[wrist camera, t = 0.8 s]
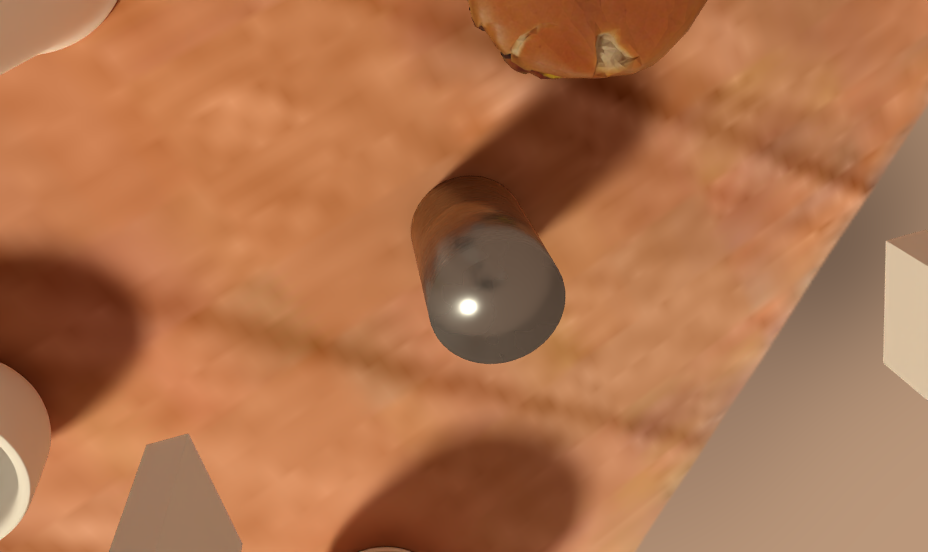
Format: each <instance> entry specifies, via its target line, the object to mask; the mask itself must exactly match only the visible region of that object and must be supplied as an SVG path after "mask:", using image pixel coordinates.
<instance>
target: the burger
mask: <svg viewBox="0 0 928 552" xmlns="http://www.w3.org/2000/svg"><path fill="white" fill-rule="evenodd" d="M706 2H707V0H468V3H469V10H470V11H471V16H472V20H473V22H474V25H475V27H477V28H479V29H481V30H483V31H486V32H487V34H488V35H489V37H490V38H491V40H492V41H493V43H494V44H495V46H496V47H497V48H498V49H499V50H500V51H501V55H502V56H503V59H504V61H505V62H506V63H507V64H508V65H509V66H510V67H511V68H512V69H514V70H516V71H518V72H520V73H523V74H527V73H531V74H533V75H535V76H537V77H539V78H540V79H558V78H592V79H597V78H607V77H609V76H619V75H630V74H634V73H636V72H638V71H641V70H643V69H645V68H647V67H650V66H652V65H653V64H655V63H656V62H657V61H659V60H660V59H661V58H662V57H664V56H665V54H666V53H667V52H668V51H669V50H670V49H671V48H672V47H673V46H674V45H675V44H676V43H677V42H678V41H679V40H680V39H681V38H682V37H683V35H684V34H685V33H686V32H687V31H688V30H689V28H690V27H691V25H692V24H693V22H694V21H695V19H696V17H697V16H698V14H699V13H700V11H701V10H702V8H703V6H704V5H705V3H706Z"/></svg>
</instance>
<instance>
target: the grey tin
mask: <svg viewBox="0 0 928 552" xmlns="http://www.w3.org/2000/svg"><path fill="white" fill-rule="evenodd" d="M411 239H412V244H413V248H414V253H415V257H416V261H417V266H418V270H419V275H420V279H421V283H422V288H423V292H424V296H425V301H426V305H427V309H428V314H429V318H430V322H431V326H432V328H433V330H434V333H435V334H436V336H437V338H438V339H439V340H440V342H441V343H442V344H443V345H444V346H445V347H446V348H447V349H448V350H449V351H451V352H452V353H454V354H455V355H457V356H459V357H461V358H463V359H466V360H469V361H472V362H477V363H484V364H497V363H505V362H509V361H513V360H516V359H518V358H521V357H523V356H525V355H527V354H529V353H531V352H532V351H534V350H535V349H537V348H538V347H539V346H541V345H542V344H543V343H544V342H545V341H546V340H547V339H548V338H549V337H550V336H551V334H552V333H553V332H554V330H555V329H556V327H557V325H558V324H559V321H560V319H561V317H562V314H563V310H564V305H565V287H564V282H563V279H562V276H561V274H560V272H559V270H558V268H557V267H556V265H555V263H554V262H553V260H552V258H551V257H550V255H549V253H548V252H547V250H546V248H545V247H544V245H543V243H542V242H541V240H540V238H539V237H538V235H537V233H536V232H535V230H534V228H533V227H532V225H531V223H530V222H529V220H528V218H527V217H526V215H525V213H524V212H523V210H522V208H521V207H520V205H519V203H518V202H517V200H516V199H515V197H514V196H513V195H512V194H511V192H510V191H509V190H508V189H506V188H505V187H504V186H503V185H501V184H499V183H498V182H496V181H494V180H491V179H488V178H485V177H479V176H462V177H457V178H453V179H450V180H447V181H445V182H443V183H441V184H439V185H438V186H436V187H435V188H433V189H432V190H431V191H430V192H429V193H428V194H427V195H426V196H425V197H424V198H423V199H422V201H421V202H420V204H419V205H418V207H417V209H416V211H415V213H414V216H413V219H412V225H411Z"/></svg>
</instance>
